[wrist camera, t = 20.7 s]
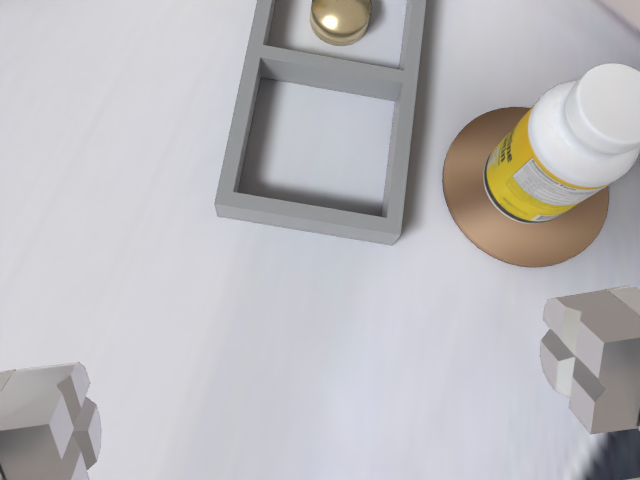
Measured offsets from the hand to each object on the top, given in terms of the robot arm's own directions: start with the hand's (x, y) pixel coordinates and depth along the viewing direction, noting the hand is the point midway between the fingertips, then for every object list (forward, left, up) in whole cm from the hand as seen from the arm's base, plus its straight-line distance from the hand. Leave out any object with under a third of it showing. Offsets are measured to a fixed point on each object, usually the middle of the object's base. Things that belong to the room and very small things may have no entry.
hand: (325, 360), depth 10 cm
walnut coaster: (-4, +22, -27) cm, 35 cm away
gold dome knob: (-22, +16, -27) cm, 39 cm away
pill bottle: (-4, +22, -26) cm, 34 cm away
